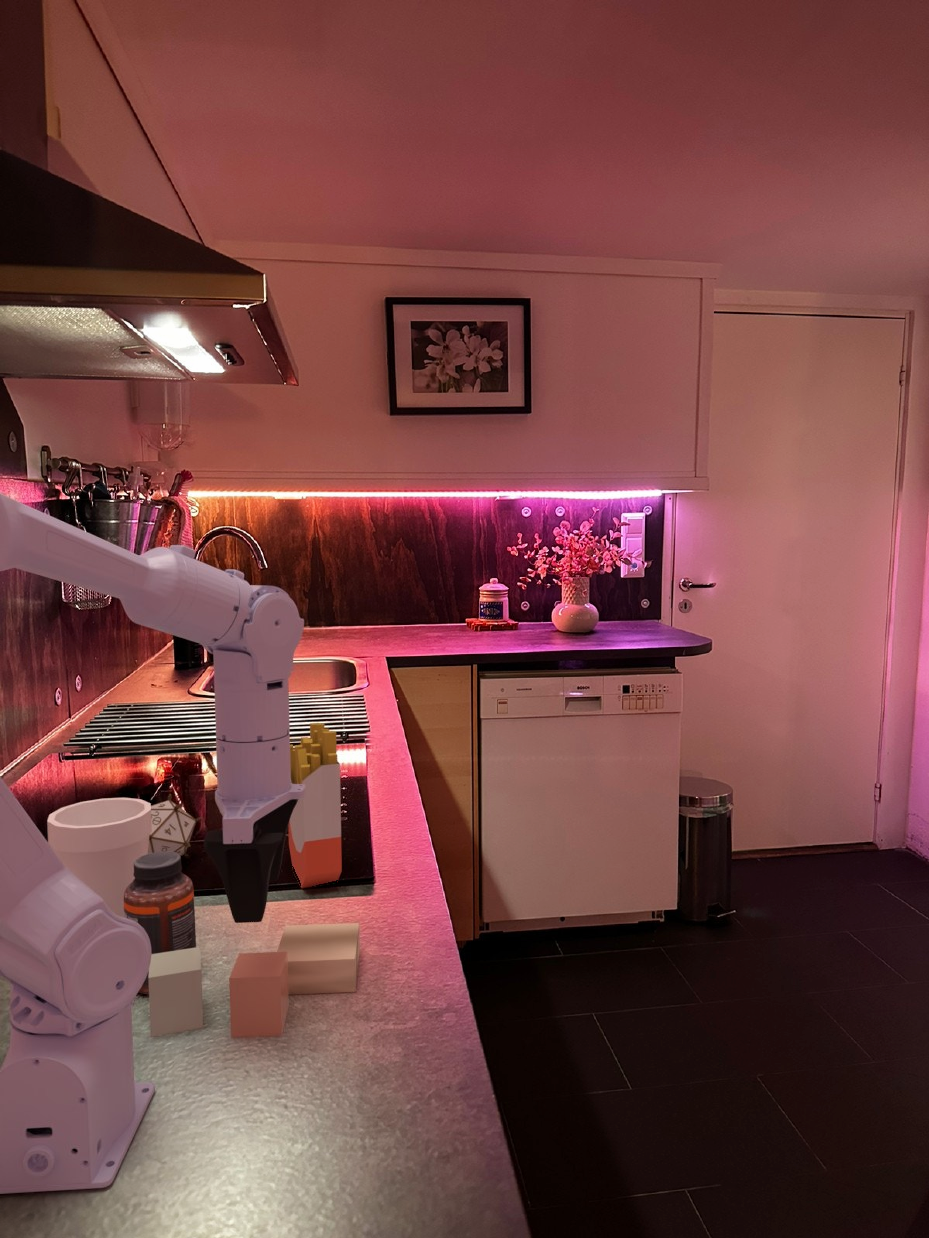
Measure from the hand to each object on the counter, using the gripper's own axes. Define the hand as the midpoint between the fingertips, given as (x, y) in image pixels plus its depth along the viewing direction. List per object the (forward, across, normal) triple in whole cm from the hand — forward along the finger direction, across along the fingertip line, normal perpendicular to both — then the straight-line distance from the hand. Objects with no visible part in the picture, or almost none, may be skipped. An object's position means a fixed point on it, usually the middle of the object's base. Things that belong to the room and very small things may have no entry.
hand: (257, 899), depth 67 cm
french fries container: (+11, +30, -1) cm, 32 cm away
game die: (+11, +36, +18) cm, 42 cm away
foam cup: (+11, +16, +18) cm, 26 cm away
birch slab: (+10, +8, -4) cm, 13 cm away
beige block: (+10, +1, +7) cm, 13 cm away
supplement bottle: (+11, +7, +10) cm, 16 cm away
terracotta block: (+10, 0, 0) cm, 10 cm away
